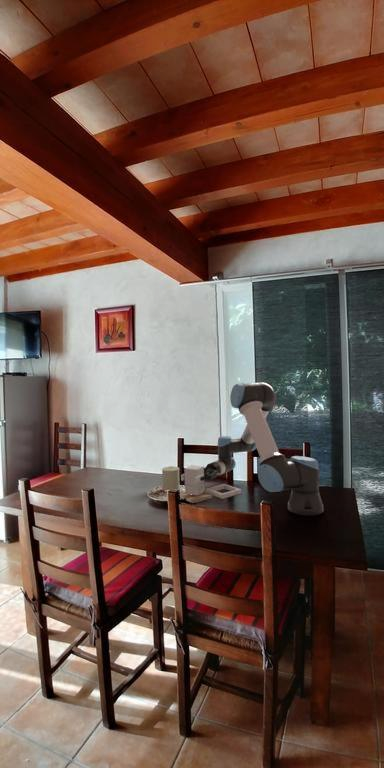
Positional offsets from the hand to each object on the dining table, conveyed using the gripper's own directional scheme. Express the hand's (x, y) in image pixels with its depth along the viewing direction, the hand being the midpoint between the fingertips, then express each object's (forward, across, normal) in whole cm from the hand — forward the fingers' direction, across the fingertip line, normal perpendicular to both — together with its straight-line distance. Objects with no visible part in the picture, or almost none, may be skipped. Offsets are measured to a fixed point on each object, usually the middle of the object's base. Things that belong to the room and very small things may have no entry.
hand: (188, 479), depth 192 cm
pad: (-5, 0, -10) cm, 11 cm away
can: (-7, +18, -10) cm, 22 cm away
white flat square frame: (-18, -8, -10) cm, 22 cm away
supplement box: (-5, 0, -8) cm, 9 cm away
